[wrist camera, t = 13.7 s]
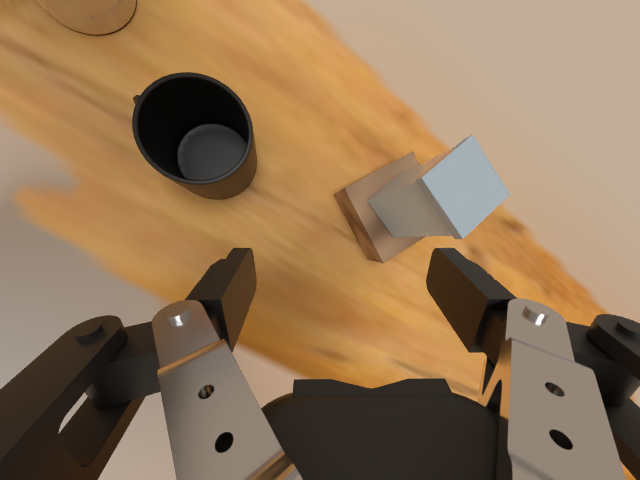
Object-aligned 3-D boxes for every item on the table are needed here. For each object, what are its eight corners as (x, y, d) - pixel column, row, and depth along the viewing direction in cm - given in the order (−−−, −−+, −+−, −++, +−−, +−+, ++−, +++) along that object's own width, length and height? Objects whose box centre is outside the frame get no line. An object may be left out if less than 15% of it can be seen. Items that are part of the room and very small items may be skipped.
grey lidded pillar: (364, 200, 28) (421, 177, 18) (399, 171, 29) (472, 134, 19) (393, 239, 29) (463, 238, 19) (426, 210, 30) (510, 194, 20)
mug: (182, 90, 28) (143, 25, 20) (271, 151, 31) (273, 117, 22) (134, 157, 27) (71, 120, 19) (230, 214, 30) (215, 206, 21)
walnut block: (333, 195, 33) (344, 188, 28) (392, 162, 35) (412, 151, 30) (366, 259, 34) (383, 263, 29) (422, 224, 36) (446, 223, 31)
